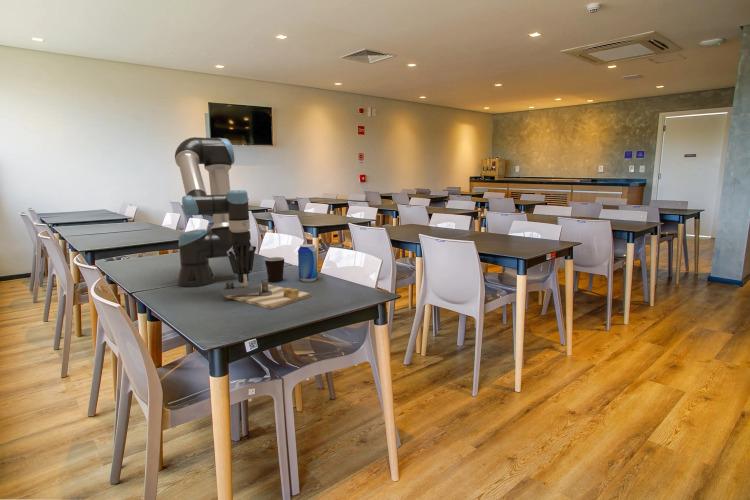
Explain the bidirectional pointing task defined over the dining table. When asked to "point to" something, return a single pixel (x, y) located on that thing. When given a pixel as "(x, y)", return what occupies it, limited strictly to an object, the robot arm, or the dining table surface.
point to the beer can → (307, 262)
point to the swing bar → (240, 289)
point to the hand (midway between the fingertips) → (244, 290)
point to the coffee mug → (275, 269)
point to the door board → (271, 296)
